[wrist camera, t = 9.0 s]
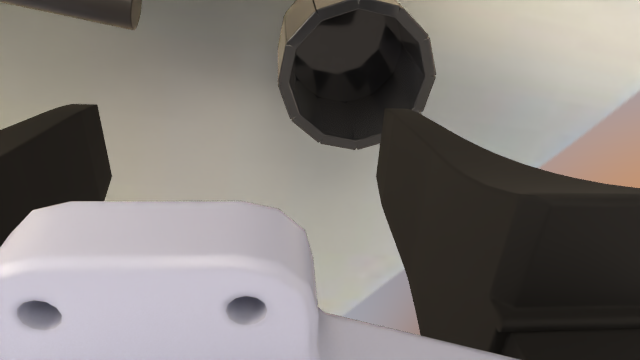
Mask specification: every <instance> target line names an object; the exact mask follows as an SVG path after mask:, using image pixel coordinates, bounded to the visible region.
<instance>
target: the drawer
mask: <svg viewBox="0 0 640 360" xmlns="http://www.w3.org/2000/svg"><path fill="white" fill-rule="evenodd" d="M0 2H2V3H6V4H11V5H16V6H21V7H26V8H30V9H35V10H40V11H45V12H49V13H54V14H59V15H64V16H69V17H73V18H78V19H83V20H88V21H92V22H97V23H102V24H107V25H111V26H116V27H121V28H126V29H131V30H135V29H136V27H137V25H138V22H139V18H140V13H141V4H142V0H0Z"/></svg>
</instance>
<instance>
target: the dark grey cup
mask: <svg viewBox="0 0 640 360" xmlns="http://www.w3.org/2000/svg"><path fill="white" fill-rule="evenodd" d="M435 75H436V70H435V65H434V59H433V53H432V47H431V42H430V38H429V37H428V34H427V33H426V32H425V31H424V30H423V29H422V27H421V26H420V25H419V24H418V23H417V22H416V21H415V20H414V19H413V18H412V17H411V16H410V15H409V14H408V12H407V11H406V10H405V9H404V8H403V7H402V6H401V5H400V4H399V3H398V2H397V1H396V0H296V1H295V2H294V4H293V5H292V6H291V7H290V8H289V9H288V10H287V12H286V13H285V15H284V18H283V23H282V28H281V33H280V38H279V43H278V87H279V90H280V92H281V95H282V98H283V101H284V104H285V106H286V109H287V112H288V115H289V117H290V119H292V122H294V123H295V124H296V125H297V126H299V127H300V128H301V129H302V130H304V131H305V132H306V133H307V134H308V135H310V136H311V137H312V138H313V139H315V140H316V141H317V142H320V143H321V144H325V145H331V146H336V147H342V148H347V149H353V150H355V149H356V148H357V149H358V150H359V149H362V148H365V147H369V146H372V145H376V144H379V143H380V142H381V134H382V126H383V118H384V110H385V108H390V109H410V110H413V111H415V112H417V113H419V114H421V112H423V110H424V107H425V105H426V102H427V99H428V97H429V94H430V91H431V89H432V86H433V83H434V80H435V78H436V77H435ZM420 111H421V112H420Z"/></svg>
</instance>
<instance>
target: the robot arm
mask: <svg viewBox="0 0 640 360" xmlns="http://www.w3.org/2000/svg"><path fill="white" fill-rule="evenodd" d="M111 177H112V174H111V170H110V165H109V160H108V155H107V150H106V145H105V140H104V135H103V130H102V126H101V121H100V116H99V111H98V106H97V105H87V104H71V105H65V106H62V107H58V108H55V109H53V110H50V111H47V112H44V113H42V114H39V115H37V116H34V117H32V118H29V119H27V120H25V121H22V122H20V123H17V124H15V125H12V126H10V127H7V128H5V129H2V130H0V360H640V188H633V187H625V186H617V185H609V184H603V183H598V182H592V181H587V180H582V179H577V178H572V177H568V176H564V175H559V174H555V173H552V172H548V171H544V170H541V169H538V168H534V167H531V166H528V165H525V164H522V163H519V162H516V161H513V160H511V159H508V158H505V157H503V156H500V155H498V154H495V153H493V152H490V151H488V150H486V149H484V148H482V147H480V146H478V145H475V144H473V143H471V142H469V141H467V140H465V139H464V138H462V137H460V136H458V135H456V134H454V133H452V132H451V131H449V130H447V129H445V128H444V127H442V126H440V125H439V124H437V123H435V122H433V121H432V120H430V119H428V118H426V117H425V116H423V115H421V114H419V113H417V112H415V111H413V110H410V109H390V108H385V110H384V118H383V126H382V134H381V142H380V150H379V158H378V166H377V175H376V177H377V183H378V189H379V194H380V199H381V204H382V207H383V210H384V213H385V216H386V219H387V221H388V224H389V227H390V230H391V232H392V235H393V238H394V240H395V243H396V246H397V249H398V251H399V254H400V257H401V259H402V262H403V265H404V268H405V271H406V274H407V277H408V280H409V284H410V289H411V293H412V297H413V302H414V306H415V310H416V315H417V320H418V324H419V329H420V334H421V336H420V335H416V334H412V333H408V332H404V331H400V330H395V329H391V328H387V327H383V326H379V325H374V324H370V323H366V322H362V321H358V320H354V319H350V318H346V317H341V316H337V315H333V314H329V313H325V312H324V311H322V310H321V309H320V308H319V307H318V302H317V291H316V281H315V271H314V260H313V255H312V252H311V248H310V245H309V242H308V238H307V235H306V232H305V230H304V229H303V228H302V227H301V226H299V225H298V224H297V223H296V222H294V221H293V220H292V219H291V218H290V217H288V216H287V215H286V214H285V213H283V212H282V211H281V210H280V209H277V208H273V207H268V206H263V205H259V204H254V203H249V202H245V201H104V200H105V197H106V194H107V191H108V187H109V184H110V181H111Z"/></svg>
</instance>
